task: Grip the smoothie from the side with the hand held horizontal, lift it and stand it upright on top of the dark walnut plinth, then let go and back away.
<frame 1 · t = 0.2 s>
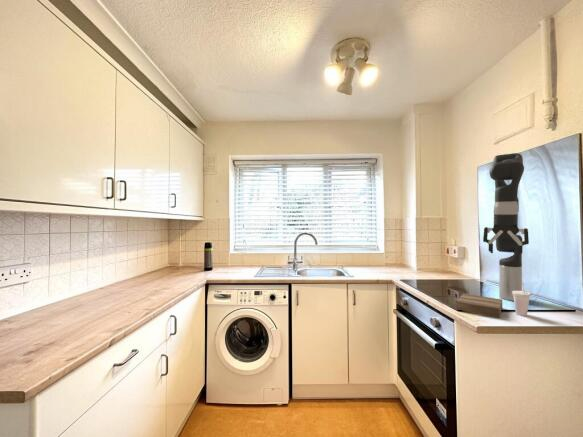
hand: (504, 253, 111), 29 cm above the countertop, tool pointing down, fingers open, 8 cm apart
plinth: (479, 308, 130), on the countertop
smoothie: (521, 314, 123), on the countertop
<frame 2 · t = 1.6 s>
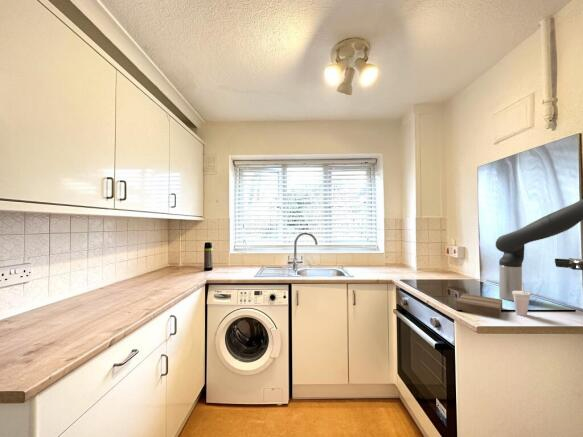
hand: (555, 262, 115), 24 cm above the countertop, tool horizontal, fingers open, 8 cm apart
nothing on the countertop moved.
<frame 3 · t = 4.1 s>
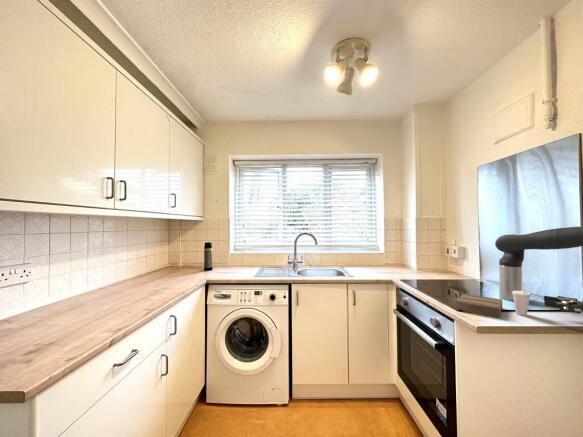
hand: (544, 300, 118), 7 cm above the countertop, tool horizontal, fingers open, 8 cm apart
nothing on the countertop moved.
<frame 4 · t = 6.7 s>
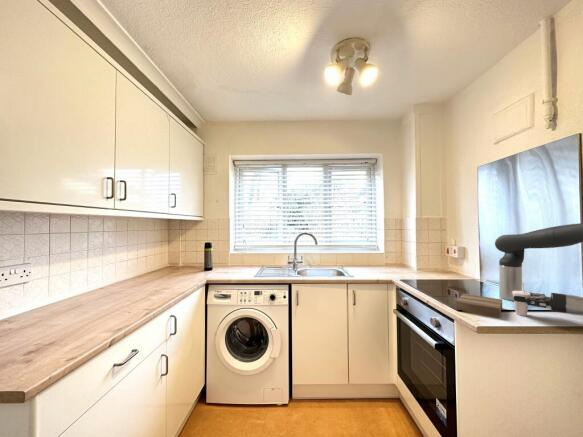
hand: (514, 296, 124), 8 cm above the countertop, tool horizontal, fingers closed on smoothie, 6 cm apart
smoothie: (521, 314, 123), on the countertop, touching gripper
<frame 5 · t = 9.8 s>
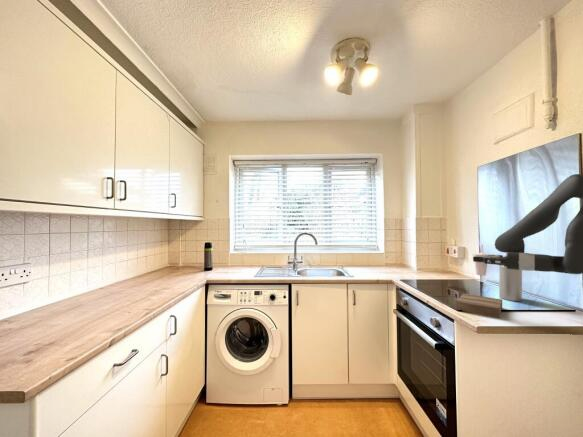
hand: (474, 258, 131), 24 cm above the countertop, tool horizontal, fingers closed on smoothie, 6 cm apart
smoothie: (480, 275, 130), point 16 cm above the countertop, touching gripper
when the fingers open (13 cm above the countertop, at t = 12.9 s): smoothie moves 2 cm, resting on plinth.
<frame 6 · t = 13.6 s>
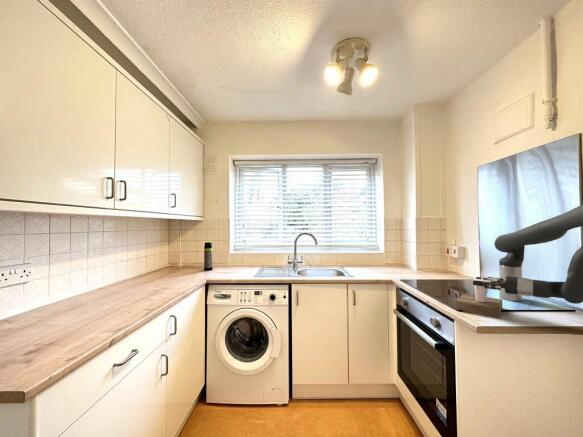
hand: (474, 280, 131), 13 cm above the countertop, tool horizontal, fingers open, 8 cm apart
smoothie: (480, 301, 128), point 4 cm above the countertop, touching gripper, plinth
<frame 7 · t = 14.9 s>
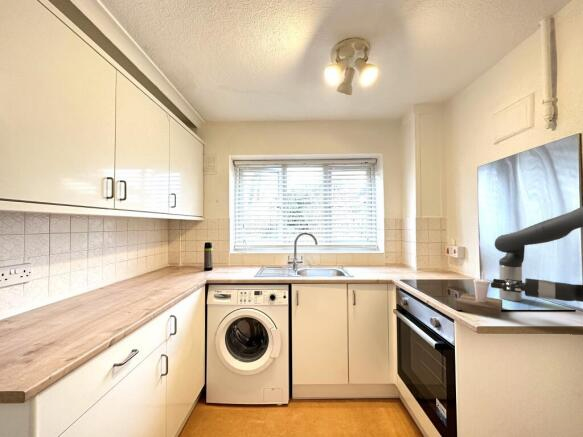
hand: (492, 282, 127), 13 cm above the countertop, tool horizontal, fingers open, 8 cm apart
smoothie: (480, 301, 128), point 4 cm above the countertop, touching plinth
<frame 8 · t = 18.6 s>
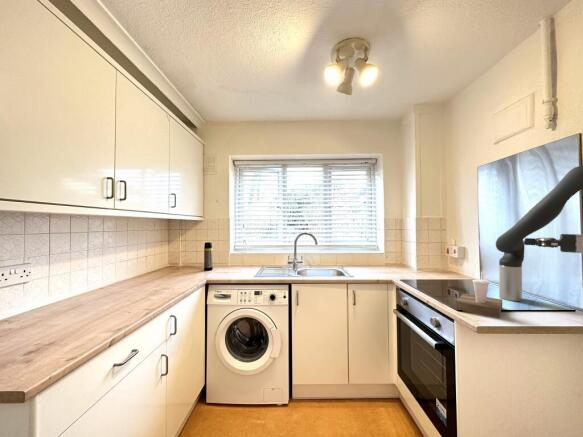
hand: (524, 241, 124), 32 cm above the countertop, tool horizontal, fingers open, 8 cm apart
nothing on the countertop moved.
at the end: smoothie inside the target area on the plinth (1.8 cm from its centre), point 3.8 cm above the plinth's base; smoothie tilted 0°; the gripper is holding nothing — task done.
